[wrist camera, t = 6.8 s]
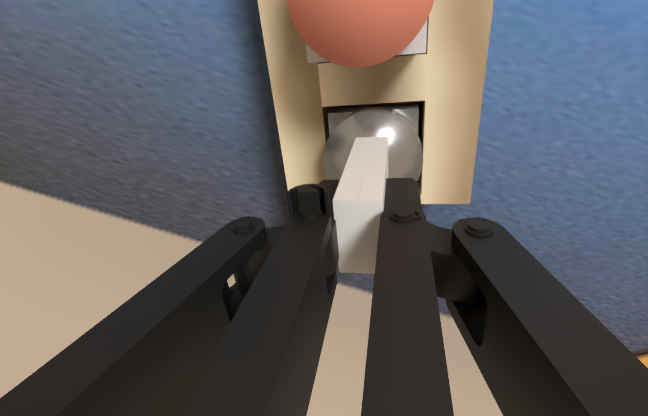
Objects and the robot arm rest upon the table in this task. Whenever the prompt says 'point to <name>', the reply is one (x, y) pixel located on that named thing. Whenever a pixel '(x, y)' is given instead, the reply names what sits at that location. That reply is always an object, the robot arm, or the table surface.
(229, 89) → the table surface
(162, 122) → the table surface
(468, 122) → the housing
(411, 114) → the plug
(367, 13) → the plug red
